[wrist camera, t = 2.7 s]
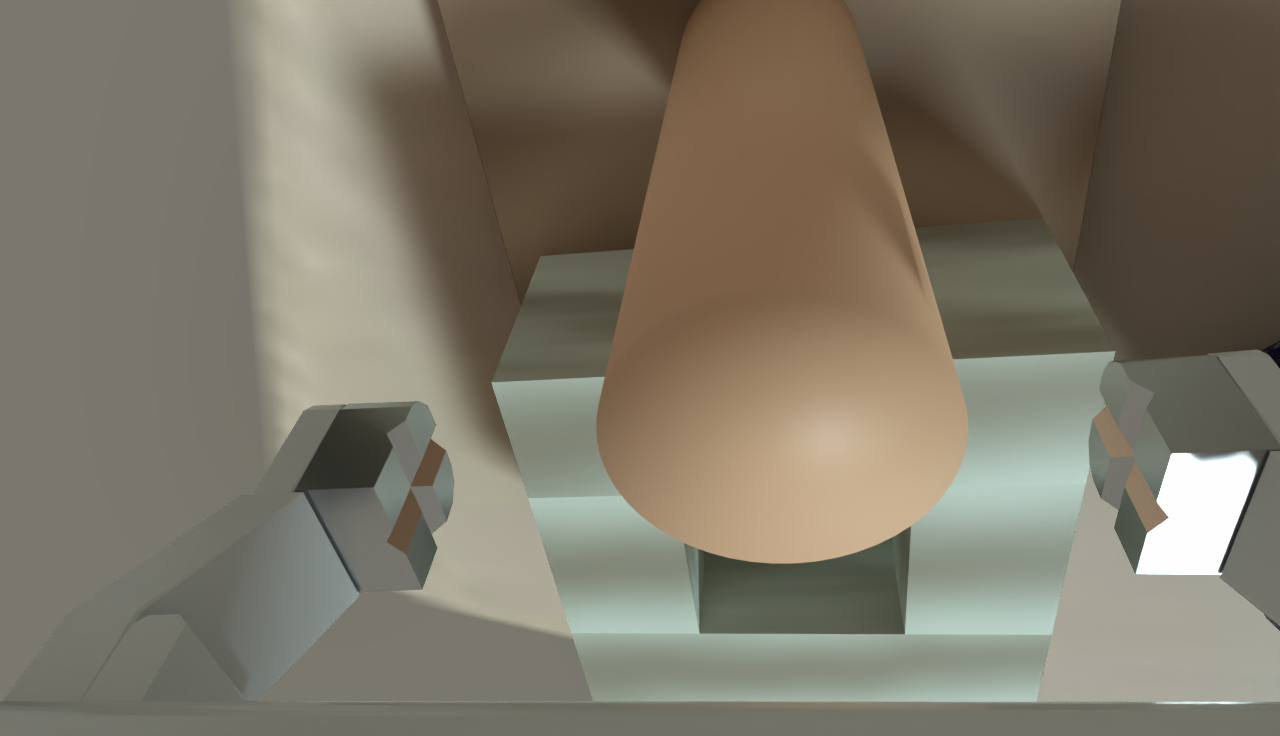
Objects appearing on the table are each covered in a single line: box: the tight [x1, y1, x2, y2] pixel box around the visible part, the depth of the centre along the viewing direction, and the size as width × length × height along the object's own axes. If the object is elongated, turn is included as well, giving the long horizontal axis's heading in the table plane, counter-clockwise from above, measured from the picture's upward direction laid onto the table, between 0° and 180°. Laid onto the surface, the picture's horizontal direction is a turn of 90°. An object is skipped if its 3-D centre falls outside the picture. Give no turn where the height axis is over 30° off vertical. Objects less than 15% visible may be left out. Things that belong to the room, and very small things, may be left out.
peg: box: [596, 0, 968, 564], centre depth 16 cm, size 4×4×14 cm
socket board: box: [437, 0, 1121, 702], centre depth 24 cm, size 24×16×8 cm, turn 9°
